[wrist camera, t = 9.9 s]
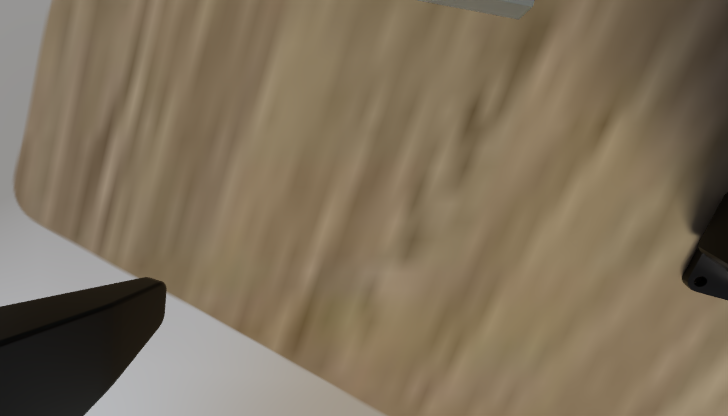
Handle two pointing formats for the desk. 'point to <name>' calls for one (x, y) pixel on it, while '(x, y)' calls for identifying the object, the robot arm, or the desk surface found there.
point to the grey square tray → (490, 6)
